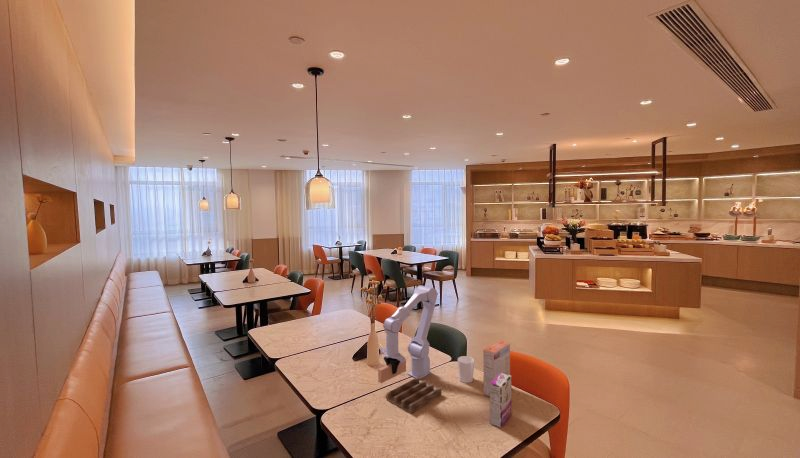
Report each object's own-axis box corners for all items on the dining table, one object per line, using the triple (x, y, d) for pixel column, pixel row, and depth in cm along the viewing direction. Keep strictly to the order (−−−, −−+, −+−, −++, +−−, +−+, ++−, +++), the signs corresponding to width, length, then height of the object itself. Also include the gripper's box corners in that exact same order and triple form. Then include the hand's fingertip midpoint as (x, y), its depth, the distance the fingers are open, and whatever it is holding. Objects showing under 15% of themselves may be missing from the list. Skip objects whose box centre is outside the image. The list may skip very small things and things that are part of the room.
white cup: (461, 374, 176) (462, 354, 176) (476, 378, 172) (476, 358, 171) (454, 380, 170) (454, 360, 169) (469, 385, 165) (470, 364, 165)
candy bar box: (499, 410, 145) (500, 371, 144) (511, 414, 142) (512, 375, 141) (488, 424, 136) (489, 383, 135) (501, 429, 133) (501, 387, 132)
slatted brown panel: (417, 383, 167) (417, 376, 167) (441, 394, 157) (441, 387, 157) (387, 400, 153) (386, 393, 153) (410, 413, 143) (410, 406, 143)
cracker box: (498, 383, 167) (499, 340, 166) (510, 387, 163) (511, 343, 162) (482, 394, 158) (482, 348, 156) (494, 399, 153) (494, 352, 152)
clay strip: (403, 369, 171) (402, 357, 171) (406, 371, 170) (405, 359, 169) (378, 381, 160) (378, 368, 160) (381, 383, 159) (381, 370, 158)
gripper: (375, 342, 166) (375, 370, 167) (397, 351, 156) (397, 380, 157) (386, 338, 171) (386, 365, 172) (408, 346, 161) (408, 375, 162)
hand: (392, 372), depth 165 cm, fingers closed on clay strip, 2 cm apart
